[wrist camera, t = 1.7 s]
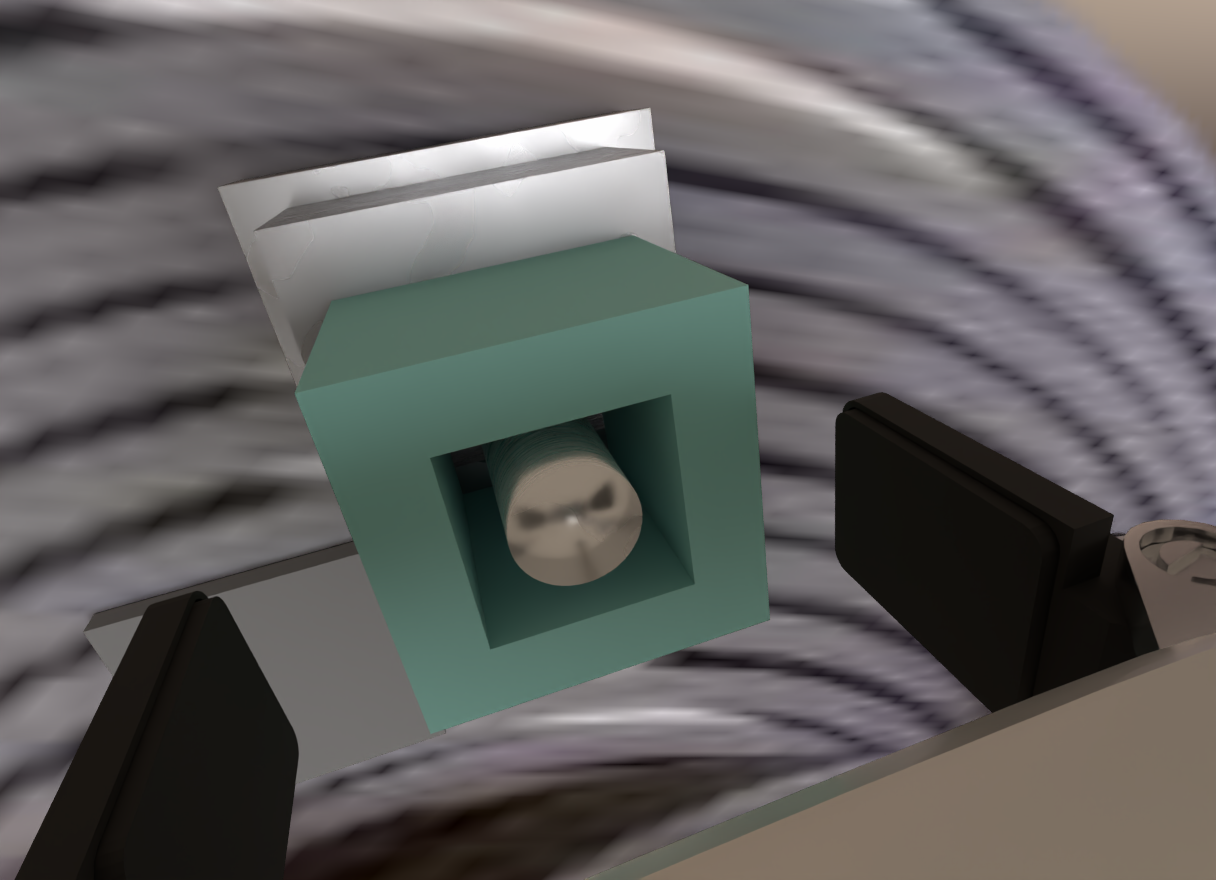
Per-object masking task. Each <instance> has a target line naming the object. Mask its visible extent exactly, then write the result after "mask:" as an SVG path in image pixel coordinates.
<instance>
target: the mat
mask: <svg viewBox="0 0 1216 880" xmlns="http://www.w3.org/2000/svg"><path fill="white" fill-rule="evenodd" d="M194 591H201V592H203V593H204V594H205V595H206V596H207V597H208V598H212V597H215V596H218V597H220V598H221V599H222V600H223V601H224V602H225V604H226V605H227V607H228V609H229V611H230V613H231V615H232V616H233V618H234V620H235V622H236V624H237V626H238V628H239V629H240V631H241V633H242V635H243V637H244V639H245V640H246V642H247V644H248V646H249V648H250V650H251V652H252V653H253V655H254V657H255V659H256V661H257V663H258V664H259V666H260V668H261V670H262V672H263V674H264V676H265V677H266V679H267V681H268V683H269V685H270V687H271V689H272V690H273V692H274V694H275V696H276V698H277V700H278V701H279V703H280V705H281V707H282V709H283V711H284V713H285V714H286V716H287V718H288V720H289V722H290V724H291V725H292V727H293V729H294V732H295V734H296V737H297V741H298V747H299V760H298V768H297V775H296V783H295V784H297V783H300V782H303V781H306V780H309V779H312V778H315V777H318V776H321V775H324V774H327V773H330V772H333V771H336V770H339V769H342V768H345V767H348V766H351V765H354V764H356V763H359V762H362V761H365V760H368V759H371V758H374V757H377V756H380V755H383V754H386V753H389V752H392V751H395V750H398V749H401V748H404V747H407V746H410V745H413V744H416V743H419V742H422V741H424V740H427V739H430V738H433V737H436V736H439V735H442V734H445V733H446V729H444V730H441V731H438V732H435V733H433V734H430V731H429V729H428V726H427V724H426V721H425V719H424V716H423V714H422V711H421V709H420V706H419V704H418V701H417V699H416V696H415V694H414V691H413V689H412V686H411V684H410V681H409V679H408V676H407V674H406V671H405V669H404V666H403V664H402V661H401V659H400V656H399V654H398V651H397V649H396V646H395V644H394V641H393V639H392V636H391V634H390V631H389V629H388V626H387V624H386V621H385V619H384V616H383V614H382V611H381V609H380V606H379V604H378V601H377V599H376V596H375V594H374V591H373V589H372V586H371V584H370V581H369V579H368V576H367V574H366V571H365V569H364V566H363V564H362V561H361V559H360V556H359V554H358V551H357V549H356V546H355V544H354V541H353V542H350V543H346V544H342V545H339V546H335V547H332V548H328V549H325V550H321V551H317V552H314V553H310V554H307V555H303V556H300V557H296V558H293V559H289V560H285V561H282V562H278V563H275V564H271V565H268V566H264V567H260V568H257V569H253V570H250V571H246V572H243V573H239V574H236V575H232V576H228V577H225V578H221V579H218V580H214V581H211V582H207V583H203V584H200V585H196V586H193V587H189V588H186V589H182V590H179V591H175V592H171V593H168V594H164V595H161V596H157V597H154V598H150V599H146V600H143V601H139V602H136V603H132V604H129V605H125V606H122V607H118V608H114V609H111V610H107V611H104V612H100V613H97V614H94V616H93V617H92V619H91V620H90V622H89V624H88V625H87V627H86V628H85V630H84V632H83V633H84V634H85V636H86V637H87V639H88V640H89V642H90V643H91V645H92V646H93V648H94V649H95V650H96V652H97V653H98V655H99V656H100V658H101V659H102V661H103V662H104V664H105V665H106V667H107V668H108V670H109V671H110V673H111V674H112V676H114V674H115V672H116V670H117V668H118V666H119V664H120V662H121V660H122V658H123V656H124V654H125V652H126V650H127V648H128V646H129V643H130V641H131V639H132V637H133V635H134V633H135V631H136V629H137V627H138V625H139V623H140V621H141V619H142V617H143V615H144V613H145V611H146V609H147V608H148V606H149V605H151V604H153V603H156V602H160V601H163V600H166V599H170V598H173V597H177V596H180V595H184V594H187V593H191V592H194Z"/></svg>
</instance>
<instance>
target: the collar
mask: <svg viewBox="0 0 1216 880" xmlns="http://www.w3.org/2000/svg"><path fill="white" fill-rule="evenodd" d="M295 396H296V398H297V401H298V403H299V406H300V408H301V411H302V413H303V416H304V418H305V421H306V423H307V426H308V428H309V431H310V433H311V436H312V438H313V441H314V443H315V446H316V449H317V451H318V454H319V456H320V459H321V461H322V464H323V466H324V469H325V471H326V474H327V476H328V479H329V481H330V484H331V486H332V489H333V491H334V494H335V496H336V499H337V501H338V504H339V506H340V509H341V511H342V514H343V516H344V519H345V521H346V524H347V526H348V529H349V531H350V534H351V536H352V539H353V541H354V544H355V546H356V549H357V551H358V554H359V556H360V559H361V561H362V564H363V566H364V569H365V571H366V574H367V576H368V579H369V581H370V584H371V586H372V589H373V591H374V594H375V596H376V599H377V601H378V604H379V606H380V609H381V611H382V614H383V616H384V619H385V621H386V624H387V626H388V629H389V631H390V634H391V636H392V639H393V641H394V644H395V646H396V649H397V651H398V654H399V656H400V659H401V661H402V664H403V666H404V669H405V671H406V674H407V676H408V679H409V681H410V684H411V686H412V689H413V691H414V694H415V696H416V699H417V701H418V704H419V706H420V709H421V711H422V714H423V716H424V719H425V721H426V724H427V726H428V729H429V731H430V734H433V733H435V732H438V731H441V730H444V729H447V728H450V727H453V726H456V725H459V724H462V723H465V722H468V721H471V720H474V719H477V718H480V717H483V716H486V715H489V714H492V713H495V712H498V711H501V710H504V709H507V708H510V707H513V706H516V705H519V704H522V703H525V702H527V701H530V700H533V699H536V698H539V697H542V696H545V695H548V694H551V693H554V692H557V691H560V690H563V689H566V688H569V687H572V686H575V685H578V684H581V683H584V682H587V681H590V680H593V679H596V678H599V677H602V676H605V675H608V674H611V673H614V672H616V671H619V670H622V669H625V668H628V667H631V666H634V665H637V664H640V663H643V662H646V661H649V660H652V659H655V658H658V657H661V656H664V655H667V654H670V653H673V652H676V651H679V650H682V649H685V648H688V647H691V646H694V645H697V644H700V643H703V642H706V641H708V640H711V639H714V638H717V637H720V636H723V635H726V634H729V633H732V632H735V631H738V630H741V629H744V628H747V627H750V626H753V625H756V624H759V623H762V622H765V621H768V620H770V614H769V599H768V583H767V568H766V552H765V537H764V521H763V506H762V490H761V475H760V459H759V444H758V428H757V413H756V397H755V382H754V366H753V351H752V335H751V320H750V304H749V289H748V285H747V284H745V283H742V282H740V281H738V280H735V279H733V278H731V277H728V276H726V275H724V274H722V273H719V272H717V271H715V270H712V269H710V268H708V267H705V266H703V265H701V264H699V263H696V262H694V261H692V260H689V259H687V258H685V257H682V256H680V255H678V254H676V253H673V252H671V251H669V250H666V249H664V248H662V247H659V246H657V245H655V244H652V243H650V242H648V241H646V240H643V239H641V238H639V237H636V236H634V235H632V236H628V237H623V238H618V239H614V240H609V241H605V242H600V243H595V244H591V245H586V246H582V247H577V248H572V249H568V250H563V251H559V252H554V253H549V254H545V255H540V256H536V257H531V258H527V259H522V260H517V261H513V262H508V263H504V264H499V265H494V266H490V267H485V268H481V269H476V270H471V271H467V272H462V273H458V274H453V275H448V276H444V277H439V278H435V279H430V280H425V281H421V282H416V283H412V284H407V285H402V286H398V287H393V288H389V289H384V290H379V291H375V292H370V293H366V294H361V295H356V296H352V297H347V298H343V299H338V300H333V301H331V303H330V306H329V309H328V311H327V314H326V316H325V319H324V321H323V324H322V326H321V329H320V331H319V334H318V336H317V339H316V341H315V344H314V346H313V349H312V351H311V354H310V356H309V359H308V361H307V364H306V366H305V369H304V371H303V374H302V376H301V379H300V381H299V384H298V386H297V389H296V391H295ZM598 413H602V415H603V421H604V426H605V432H606V438H607V443H608V449H609V452H610V454H611V455H612V457H613V458H614V460H615V461H616V463H617V464H618V466H619V467H620V469H621V470H622V472H623V473H624V475H625V476H626V478H627V479H628V481H629V482H630V484H631V485H632V487H633V488H634V490H635V492H636V493H637V495H638V498H639V500H640V503H641V508H642V526H641V531H640V534H639V537H638V540H637V542H636V544H635V546H634V547H633V549H632V550H631V552H630V553H629V555H628V556H627V557H626V558H625V560H624V561H623V562H621V563H620V564H619V565H618V566H617V567H616V568H615V569H613V570H612V571H611V572H609V573H607V574H606V575H604V576H602V577H600V578H598V579H596V580H593V581H590V582H587V583H583V584H579V585H572V586H559V585H552V584H547V583H544V582H541V581H538V580H536V579H534V578H532V577H531V576H529V575H528V574H527V573H525V572H524V571H523V570H522V569H521V568H520V567H519V566H518V564H517V563H516V562H515V560H514V558H513V557H512V555H511V552H510V549H509V546H508V542H507V538H506V535H505V531H504V527H503V523H502V520H501V516H500V512H499V508H498V505H497V501H496V497H495V493H494V490H493V486H492V487H488V488H485V489H481V490H477V491H474V492H470V493H467V494H463V493H462V490H461V487H460V483H459V480H458V477H457V473H456V470H455V467H454V463H453V460H452V457H451V453H450V452H454V451H458V450H462V449H466V448H469V447H473V446H477V445H481V444H484V443H488V442H492V441H496V440H500V439H503V438H507V437H511V436H515V435H519V434H522V433H526V432H530V431H534V430H537V429H541V428H545V427H549V426H553V425H556V424H560V423H564V422H568V421H571V420H575V419H579V418H583V417H587V416H590V415H594V414H598Z"/></svg>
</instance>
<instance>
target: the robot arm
mask: <svg viewBox="0 0 1216 880" xmlns="http://www.w3.org/2000/svg"><path fill="white" fill-rule="evenodd" d="M1113 517H1114V515H1113V514H1111V513H1109V512H1107V511H1105V510H1103V509H1102V508H1100V507H1098V506H1096V505H1094V504H1092V503H1090V502H1088V501H1087V500H1085V499H1083V498H1081V497H1079V496H1077V495H1075V494H1074V493H1072V492H1070V491H1068V490H1066V489H1064V488H1062V487H1060V486H1059V485H1057V484H1055V483H1053V482H1051V481H1049V480H1047V479H1045V478H1044V477H1042V476H1040V475H1038V474H1036V473H1034V472H1032V471H1031V470H1029V469H1027V468H1025V467H1023V466H1021V465H1019V464H1017V463H1016V462H1014V461H1012V460H1010V459H1008V458H1006V457H1004V456H1003V455H1001V454H999V453H997V452H995V451H993V450H991V449H989V448H988V447H986V446H984V445H982V444H980V443H978V442H976V441H975V440H973V439H971V438H969V437H967V436H965V435H963V434H961V433H960V432H958V431H956V430H954V429H952V428H950V427H948V426H946V425H945V424H943V423H941V422H939V421H937V420H935V419H933V418H932V417H930V416H928V415H926V414H924V413H922V412H920V411H918V410H917V409H915V408H913V407H911V406H909V405H907V404H905V403H904V402H902V401H900V400H898V399H896V398H894V397H892V396H890V395H889V394H886V393H883V392H881V393H876V394H873V395H869V396H866V397H862V398H859V399H856V400H852V401H849V402H848V403H846V404H845V406H844V408H843V413H840V414H839V415H838V416H837V418H836V424H835V551H836V555H837V558H838V560H839V563H840V564H841V566H842V567H843V569H844V570H845V571H846V572H847V573H848V574H849V575H850V576H851V577H852V578H853V579H854V580H855V581H856V582H857V583H858V584H860V585H861V586H862V587H863V588H864V589H865V590H866V591H867V592H868V593H869V594H870V595H871V596H872V597H873V598H874V599H875V600H876V601H877V602H878V603H879V604H880V605H881V606H882V607H883V608H884V609H885V610H886V611H887V612H889V613H890V614H891V615H892V616H893V617H894V618H895V619H896V620H897V621H898V622H899V623H900V624H901V625H902V626H903V627H904V628H905V629H906V630H907V631H908V632H909V633H910V634H911V635H912V636H913V637H914V638H915V639H916V640H918V641H919V642H920V643H921V644H922V645H923V646H924V647H925V648H926V649H927V650H928V651H929V652H930V653H931V654H932V655H933V656H934V657H935V658H936V659H937V660H938V661H939V662H940V663H941V664H942V665H943V666H944V667H945V668H946V669H948V670H949V671H950V672H951V673H952V674H953V675H954V676H955V677H956V678H957V679H958V680H959V681H960V682H961V683H962V684H963V685H964V686H965V687H966V688H967V689H968V690H969V691H970V692H971V693H972V694H973V695H974V696H975V697H977V698H978V699H979V700H980V701H981V702H982V703H983V704H984V705H985V706H986V707H987V708H988V709H989V710H990V711H991V712H992V713H991V714H989V715H986V716H984V717H981V718H979V719H976V720H974V721H972V722H969V723H967V724H964V725H962V726H959V727H957V728H954V729H952V730H949V731H947V732H944V733H942V734H939V735H937V736H934V737H932V738H929V739H927V740H924V741H922V742H919V743H917V744H914V745H912V746H909V747H907V748H904V749H902V750H899V751H897V752H895V753H892V754H890V755H887V756H885V757H882V758H880V759H877V760H875V761H872V762H870V763H867V764H865V765H862V766H860V767H857V768H855V769H852V770H850V771H848V772H845V773H843V774H840V775H838V776H835V777H833V778H830V779H828V780H825V781H823V782H821V783H818V784H816V785H813V786H811V787H808V788H806V789H803V790H801V791H799V792H796V793H794V794H791V795H789V796H786V797H784V798H781V799H779V800H777V801H774V802H772V803H769V804H767V805H764V806H762V807H759V808H757V809H754V810H752V811H750V812H747V813H745V814H742V815H740V816H737V817H735V818H732V819H730V820H728V821H725V822H723V823H720V824H718V825H715V826H713V827H711V828H708V829H706V830H703V831H701V832H698V833H696V834H694V835H691V836H689V837H686V838H684V839H681V840H679V841H676V842H674V843H672V844H669V845H667V846H664V847H662V848H659V849H657V850H655V851H652V852H650V853H647V854H645V855H642V856H640V857H637V858H635V859H633V860H630V861H628V862H625V863H623V864H620V865H618V866H616V867H613V868H611V869H608V870H606V871H604V872H601V873H599V874H596V875H594V876H591V877H589V878H587V879H584V880H1216V526H1212V525H1209V524H1205V523H1198V522H1192V521H1185V520H1156V521H1150V522H1144V523H1141V524H1139V525H1137V526H1135V527H1133V528H1131V529H1130V530H1129V531H1128V532H1127V534H1126V535H1125V536H1116V537H1115V536H1113V535H1112V534H1110V530H1111V525H1112V521H1113ZM298 760H299V747H298V741H297V737H296V734H295V732H294V729H293V727H292V725H291V724H290V722H289V720H288V718H287V716H286V714H285V713H284V711H283V709H282V707H281V705H280V703H279V701H278V700H277V698H276V696H275V694H274V692H273V690H272V689H271V687H270V685H269V683H268V681H267V679H266V677H265V676H264V674H263V672H262V670H261V668H260V666H259V664H258V663H257V661H256V659H255V657H254V655H253V653H252V652H251V650H250V648H249V646H248V644H247V642H246V640H245V639H244V637H243V635H242V633H241V631H240V629H239V628H238V626H237V624H236V622H235V620H234V618H233V616H232V615H231V613H230V611H229V609H228V607H227V605H226V604H225V602H224V601H223V600H222V599H221V598H220V597H218V596H215V597H212V598H208V597H207V596H206V595H205V594H204V593H203V592H201V591H194V592H191V593H187V594H184V595H180V596H177V597H173V598H170V599H166V600H163V601H160V602H156V603H153V604H151V605H149V606H148V608H147V609H146V611H145V613H144V615H143V617H142V619H141V621H140V623H139V625H138V627H137V629H136V631H135V633H134V635H133V637H132V639H131V641H130V643H129V646H128V648H127V650H126V652H125V654H124V656H123V658H122V660H121V662H120V664H119V666H118V668H117V670H116V672H115V674H114V676H113V678H112V681H111V683H110V685H109V687H108V689H107V691H106V693H105V695H104V697H103V699H102V701H101V703H100V705H99V707H98V709H97V711H96V713H95V715H94V718H93V720H92V722H91V724H90V726H89V728H88V730H87V732H86V734H85V736H84V738H83V740H82V742H81V744H80V746H79V748H78V750H77V753H76V755H75V757H74V759H73V761H72V763H71V765H70V767H69V769H68V771H67V773H66V775H65V777H64V779H63V781H62V783H61V785H60V788H59V790H58V792H57V794H56V796H55V798H54V800H53V802H52V804H51V806H50V808H49V810H48V812H47V814H46V816H45V818H44V820H43V822H42V825H41V827H40V829H39V831H38V833H37V835H36V837H35V839H34V841H33V843H32V845H31V847H30V849H29V851H28V853H27V855H26V857H25V860H24V862H23V864H22V866H21V868H20V870H19V872H18V874H17V876H16V878H15V880H283V874H284V867H285V859H286V851H287V844H288V836H289V828H290V821H291V813H292V806H293V798H294V790H295V783H296V775H297V768H298Z"/></svg>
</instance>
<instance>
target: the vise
mask: <svg viewBox="0 0 1216 880" xmlns="http://www.w3.org/2000/svg"><path fill="white" fill-rule="evenodd" d="M218 190H219V192H220V195H221V197H222V200H223V202H224V205H225V207H226V210H227V212H228V215H229V217H230V220H231V222H232V225H233V228H234V230H235V233H236V235H237V238H238V240H239V243H240V245H241V248H242V250H243V253H244V255H245V258H246V260H247V263H248V265H249V268H250V270H251V273H252V275H253V278H254V281H255V283H256V286H257V288H258V291H259V293H260V296H261V298H262V301H263V303H264V306H265V308H266V311H267V313H268V316H269V318H270V321H271V323H272V326H273V328H274V331H275V334H276V336H277V339H278V341H279V344H280V346H281V349H282V351H283V354H284V356H285V359H286V361H287V364H288V366H289V369H290V371H291V374H292V376H293V379H294V381H295V384H296V387H297V386H298V384H299V381H300V379H301V376H302V374H303V371H304V369H305V366H306V364H307V361H308V359H309V356H310V354H311V351H312V349H313V346H314V344H315V341H316V339H317V336H318V334H319V331H320V329H321V326H322V324H323V321H324V319H325V316H326V314H327V311H328V309H329V306H330V303H331V301H333V300H338V299H343V298H347V297H352V296H356V295H361V294H366V293H370V292H375V291H379V290H384V289H389V288H393V287H398V286H402V285H407V284H412V283H416V282H421V281H425V280H430V279H435V278H439V277H444V276H448V275H453V274H458V273H462V272H467V271H471V270H476V269H481V268H485V267H490V266H494V265H499V264H504V263H508V262H513V261H517V260H522V259H527V258H531V257H536V256H540V255H545V254H549V253H554V252H559V251H563V250H568V249H572V248H577V247H582V246H586V245H591V244H595V243H600V242H605V241H609V240H614V239H618V238H623V237H628V236H632V235H634V236H636V237H639V238H641V239H643V240H646V241H648V242H650V243H652V244H655V245H657V246H659V247H662V248H664V249H666V250H669V251H671V252H673V253H676V251H675V242H674V233H673V224H672V215H671V206H670V197H669V188H668V179H667V170H666V161H665V152H664V151H663V150H655V146H654V137H653V129H652V120H651V111H650V108H645V109H635V110H625V111H617V112H612V113H606V114H601V115H595V116H590V117H585V118H579V119H574V120H568V121H563V122H557V123H552V124H546V125H541V126H535V127H530V128H524V129H519V130H513V131H508V132H502V133H497V134H491V135H486V136H480V137H475V138H469V139H464V140H458V141H453V142H447V143H442V144H436V145H431V146H425V147H420V148H415V149H409V150H404V151H398V152H393V153H387V154H382V155H376V156H371V157H365V158H360V159H354V160H349V161H343V162H338V163H332V164H327V165H321V166H316V167H310V168H305V169H299V170H294V171H288V172H283V173H277V174H272V175H266V176H261V177H255V178H250V179H244V180H240V181H236V182H233V183H230V184H226V185H223V186H220V187H218ZM450 453H451V457H452V460H453V463H454V467H455V470H456V473H457V477H458V480H459V483H460V487H461V490H462V493H463V494H467V493H470V492H474V491H477V490H481V489H485V488H488V487H492V486H493V490H494V493H495V497H496V501H497V505H498V508H499V512H500V516H501V520H502V523H503V527H504V531H505V535H506V538H507V542H508V546H509V549H510V552H511V555H512V557H513V558H514V560H515V562H516V563H517V564H518V566H519V567H520V568H521V569H522V570H523V571H524V572H525V573H527V574H528V575H529V576H531V577H532V578H534V579H536V580H538V581H541V582H544V583H547V584H552V585H559V586H572V585H579V584H583V583H587V582H590V581H593V580H596V579H598V578H600V577H602V576H604V575H606V574H607V573H609V572H611V571H612V570H613V569H615V568H616V567H617V566H618V565H619V564H620V563H621V562H623V561H624V560H625V558H626V557H627V556H628V555H629V553H630V552H631V550H632V549H633V547H634V546H635V544H636V542H637V540H638V537H639V534H640V531H641V526H642V508H641V503H640V500H639V498H638V495H637V493H636V492H635V490H634V488H633V487H632V485H631V484H630V482H629V481H628V479H627V478H626V476H625V475H624V473H623V472H622V470H621V469H620V467H619V466H618V464H617V463H616V461H615V460H614V458H613V457H612V455H611V454H610V452H609V449H608V443H607V438H606V432H605V426H604V421H603V415H602V413H598V414H594V415H590V416H587V417H583V418H579V419H575V420H571V421H568V422H564V423H560V424H556V425H553V426H549V427H545V428H541V429H537V430H534V431H530V432H526V433H522V434H519V435H515V436H511V437H507V438H503V439H500V440H496V441H492V442H488V443H484V444H481V445H477V446H473V447H469V448H466V449H462V450H458V451H454V452H450Z"/></svg>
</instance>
